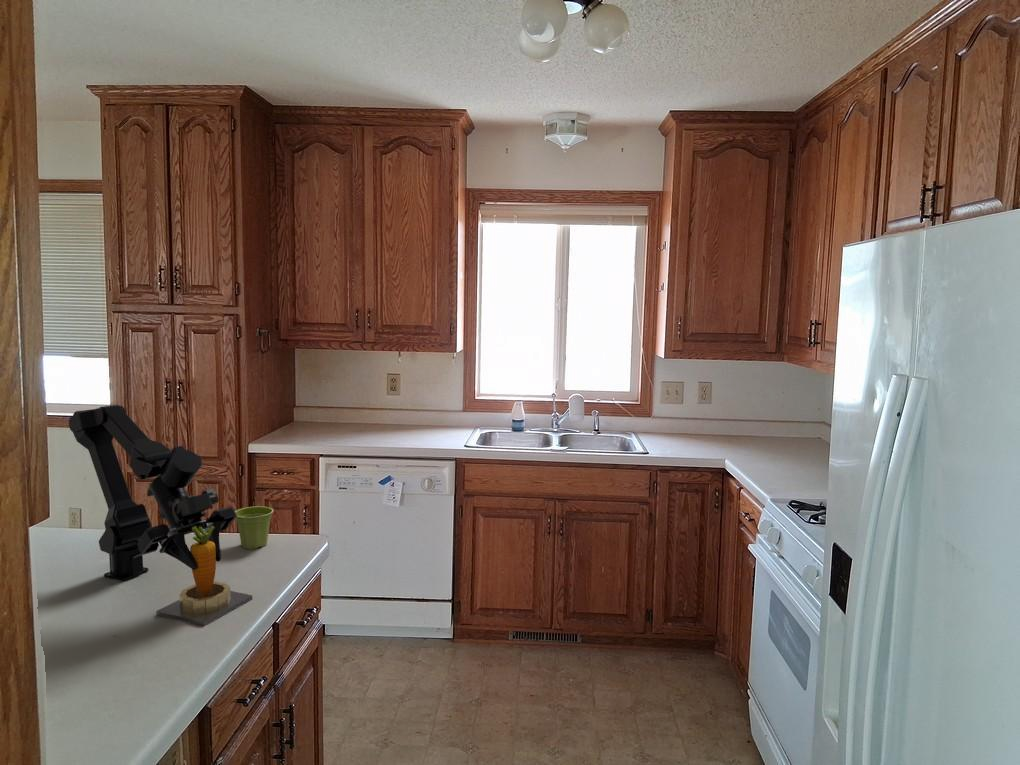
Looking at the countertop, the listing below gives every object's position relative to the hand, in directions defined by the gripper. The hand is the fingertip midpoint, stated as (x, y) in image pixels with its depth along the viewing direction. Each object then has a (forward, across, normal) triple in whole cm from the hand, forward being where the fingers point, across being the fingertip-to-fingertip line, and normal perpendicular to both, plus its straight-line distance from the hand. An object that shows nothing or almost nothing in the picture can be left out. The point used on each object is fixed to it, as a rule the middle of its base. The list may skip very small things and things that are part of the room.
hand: (207, 564), depth 138 cm
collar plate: (+6, 0, +7) cm, 9 cm away
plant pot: (-10, +28, +23) cm, 38 cm away
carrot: (+4, 0, +6) cm, 7 cm away
